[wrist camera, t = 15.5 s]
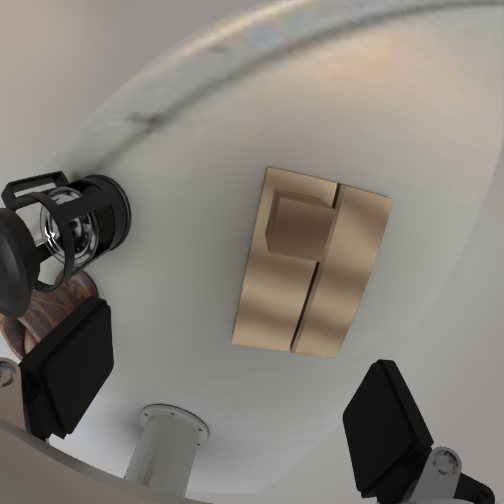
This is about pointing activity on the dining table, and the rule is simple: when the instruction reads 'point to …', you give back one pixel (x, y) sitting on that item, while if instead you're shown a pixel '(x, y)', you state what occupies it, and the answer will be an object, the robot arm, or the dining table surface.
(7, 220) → the french press
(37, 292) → the mortar and pestle
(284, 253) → the walnut block
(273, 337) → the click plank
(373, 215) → the laid board
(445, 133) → the dining table surface
